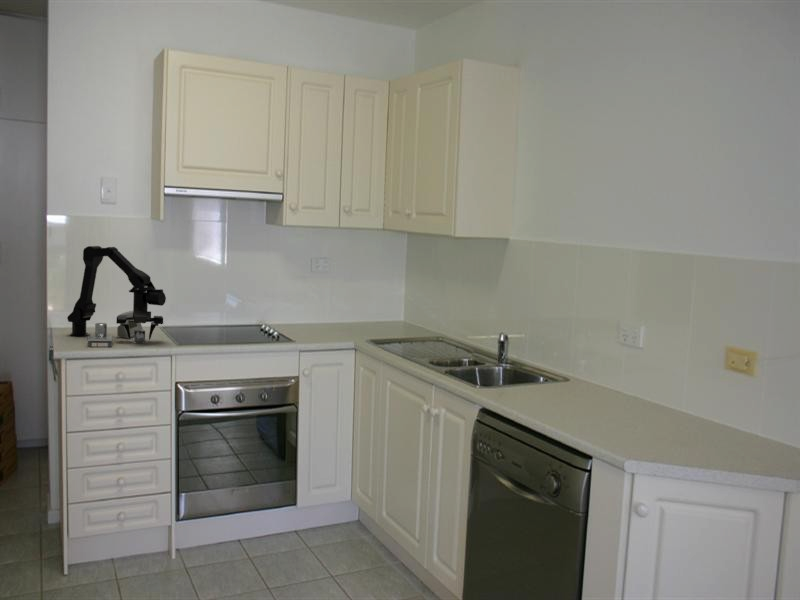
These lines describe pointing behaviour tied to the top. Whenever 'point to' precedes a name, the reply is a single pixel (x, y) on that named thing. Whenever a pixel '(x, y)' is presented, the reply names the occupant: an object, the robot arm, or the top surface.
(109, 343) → the scale base
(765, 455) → the top surface
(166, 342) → the top surface
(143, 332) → the cylinder
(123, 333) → the digital clock
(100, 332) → the cylinder
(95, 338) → the platform
